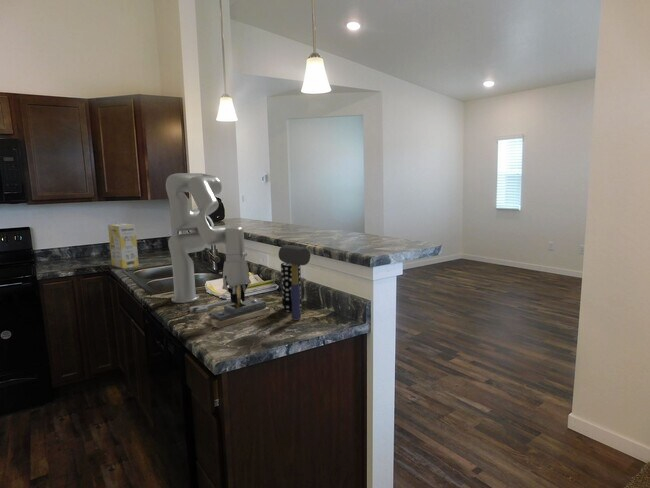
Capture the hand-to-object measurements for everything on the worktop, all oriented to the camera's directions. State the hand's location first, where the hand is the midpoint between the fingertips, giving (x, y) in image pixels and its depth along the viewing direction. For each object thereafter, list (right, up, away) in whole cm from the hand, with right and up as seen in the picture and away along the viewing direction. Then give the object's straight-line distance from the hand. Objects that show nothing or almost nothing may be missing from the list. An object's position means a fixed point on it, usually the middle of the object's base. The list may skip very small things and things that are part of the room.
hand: (238, 301), depth 174 cm
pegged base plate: (0, -5, +1) cm, 5 cm away
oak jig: (0, -7, +1) cm, 7 cm away
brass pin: (0, -2, 0) cm, 2 cm away
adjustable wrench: (-13, -5, +18) cm, 23 cm away
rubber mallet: (+24, -7, -3) cm, 25 cm away
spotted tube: (+21, -5, +11) cm, 24 cm away
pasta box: (-101, +8, +117) cm, 155 cm away
